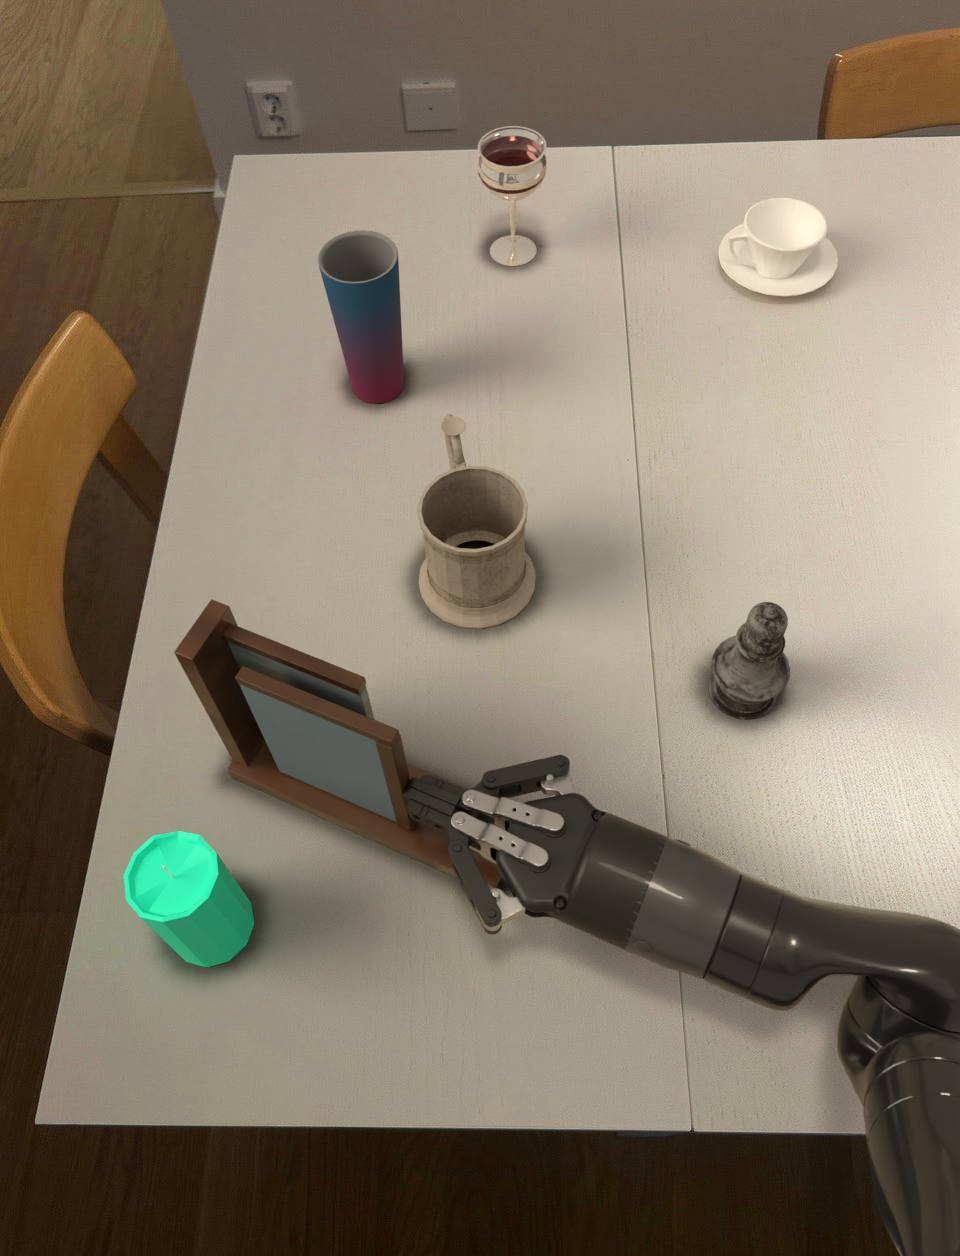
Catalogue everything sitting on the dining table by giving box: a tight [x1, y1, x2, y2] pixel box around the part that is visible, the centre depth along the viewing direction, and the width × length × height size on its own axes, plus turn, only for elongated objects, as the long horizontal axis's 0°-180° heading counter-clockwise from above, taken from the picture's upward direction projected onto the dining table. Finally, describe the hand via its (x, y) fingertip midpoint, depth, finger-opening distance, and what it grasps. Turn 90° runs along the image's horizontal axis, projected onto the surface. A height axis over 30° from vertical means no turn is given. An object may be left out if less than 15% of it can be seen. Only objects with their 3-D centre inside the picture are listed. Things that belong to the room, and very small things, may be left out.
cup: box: [317, 229, 405, 405], centre depth 96 cm, size 7×7×15 cm
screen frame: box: [173, 598, 503, 890], centre depth 72 cm, size 6×22×18 cm, turn 65°
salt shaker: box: [708, 601, 791, 720], centre depth 78 cm, size 6×6×12 cm
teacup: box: [717, 197, 839, 297], centre depth 107 cm, size 12×12×5 cm
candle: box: [123, 830, 255, 968], centre depth 70 cm, size 6×6×12 cm
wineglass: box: [477, 125, 548, 267], centre depth 107 cm, size 7×7×12 cm
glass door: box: [235, 666, 417, 831], centre depth 72 cm, size 1×11×14 cm, turn 65°
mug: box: [416, 413, 537, 630], centre depth 86 cm, size 14×10×12 cm
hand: (407, 791), depth 71 cm, fingers closed
